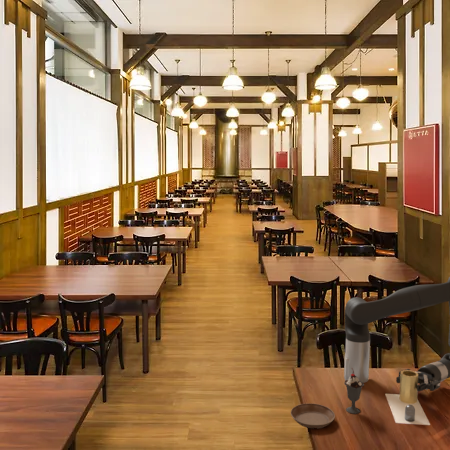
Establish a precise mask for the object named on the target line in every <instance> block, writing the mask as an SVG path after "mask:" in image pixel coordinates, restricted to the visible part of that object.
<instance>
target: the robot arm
mask: <svg viewBox="0 0 450 450" xmlns="http://www.w3.org/2000/svg"><path fill="white" fill-rule="evenodd" d="M447 302H448V307H449V314H450V276H449V277H448V279H447V281H446V282H442V283H436V284H435V283H433V284H429V283H428V284H419V285H418V284H416V285H412V286H407V287H403V288H401V289H398V290H396V291H395V292H393V293H391V294H389V295H388V296H386V297H384V298H382V299H377V300H376V299H375V300H372V301H366V300H365V299H363V298H362V297H358V296H357V297H351V298H350V299H349V300H347V302H346V304H345V307H344V331H345V354H344V364H343V365H344V368H343V369H344V371H343V378H344V381H345V380H349V378H350V377H351V374H353V371H354V374H355V376H356V377H357V378H358V380H359V381H361V382H362V383H363V384H364V383H367V382H368V381H369V378H370V377H369V376H370V375H369V374H370V372H369V371H370V348H371V347H370V345H371V334H370V333H371V332H370V329H369V326H368V325H369V324H371V323H373V322H376V321H379V320H382V319H384V318H387V317H392V316H396V315H401V314H404V313H410V312H414V311H418V310H422V309H425V308H428V307H432V306H436V305H439V304H443V303H447ZM448 326H449V328H448V329H449V331H448V347H449V348H450V325H448ZM352 368H353V370H352ZM405 370H410V371H411V369H410V368H405ZM401 371H402V370H400V371H398V376H396V379H395V380H396V383H397V384H400V373H401ZM416 372H417V373H418V385H417V391H418V392H421V391H428V390H429V391H430V392H434V391H436V390H437V389H439V388H441V383H442V382H443V381H445V380H447V379H449V378H450V352H448V353H445V354H444V355H443V356H442V357H441V359H440V360H437V361H434V362H431V363H428V364H425V365H423V366H421V367H419V368H418V370H417V371H416Z"/></svg>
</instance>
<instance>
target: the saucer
mask: <svg viewBox="0 0 450 450" xmlns="http://www.w3.org/2000/svg"><path fill="white" fill-rule="evenodd" d="M290 415H291V417H292V418H293V420H294V421H295V422H296V423H298V424H299V425H300V426H302V427H305V428H308V429H314V428H317V429H323V428H325V427H328V426H329V425H330V424H332V422H333V421H334V420H335V417H336V415H335V412H334V411H333V410H332V409H331V408H329V407H328V406H325V405H322V404H320V403H311V402H310V403H301V404H297V405H295V406H294V407H292V408H291V410H290Z"/></svg>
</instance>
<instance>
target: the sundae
mask: <svg viewBox="0 0 450 450" xmlns="http://www.w3.org/2000/svg"><path fill="white" fill-rule="evenodd" d="M352 370H353V368H352ZM343 384H344V386H345V387H346V395H347V399H349V401H350V402H351V406H348V407H346V409H345V410H346V412H347V413H348V414H352V415H357V414H359V413H361V410H360V408H359V407H356V403H357V402H358V401H359V400H360V397H361V394H362V393H361V391H362V388H363V387H364V386H365V384H364V383H362V382H361V381H359V380H358V378H357V377H356V376H355V374H354V371H353V374H351V377H350V378H349V380H345V379H344V382H343Z"/></svg>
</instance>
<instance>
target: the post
mask: <svg viewBox="0 0 450 450" xmlns="http://www.w3.org/2000/svg"><path fill="white" fill-rule="evenodd" d="M405 420H406V421H409V422H413V421H415V408H414V406H413V405H407V406H406V407H405Z"/></svg>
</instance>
